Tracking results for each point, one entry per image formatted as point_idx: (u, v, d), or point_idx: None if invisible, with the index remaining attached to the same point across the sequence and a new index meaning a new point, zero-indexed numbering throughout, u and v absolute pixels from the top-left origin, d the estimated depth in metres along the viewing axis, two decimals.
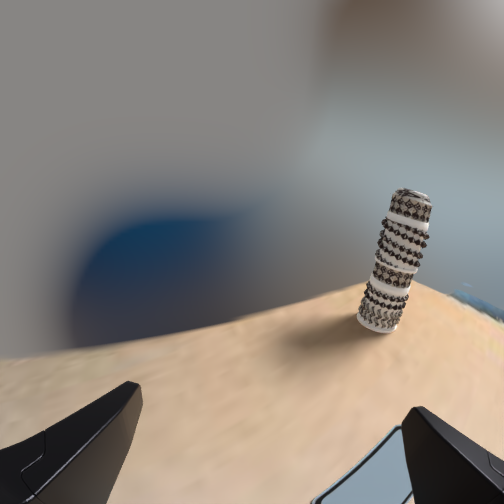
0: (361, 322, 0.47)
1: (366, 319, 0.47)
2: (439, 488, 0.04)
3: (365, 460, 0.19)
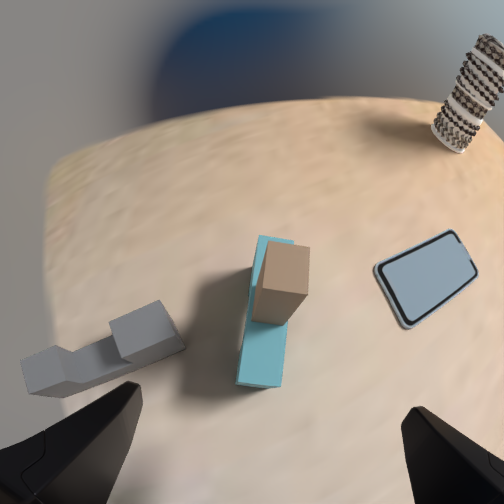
0: (434, 132, 0.41)
1: (439, 131, 0.40)
2: (439, 488, 0.04)
3: (421, 245, 0.27)
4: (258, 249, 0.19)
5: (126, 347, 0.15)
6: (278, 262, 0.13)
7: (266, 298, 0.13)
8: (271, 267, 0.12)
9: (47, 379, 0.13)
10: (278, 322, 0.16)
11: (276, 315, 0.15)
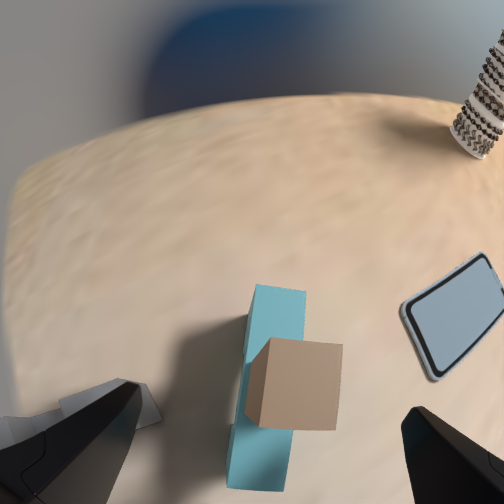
0: (454, 136, 0.34)
1: (460, 135, 0.33)
2: (439, 488, 0.04)
3: (453, 275, 0.21)
4: (255, 306, 0.13)
5: None
6: (288, 379, 0.07)
7: None
8: (276, 389, 0.06)
9: None
10: None
11: None
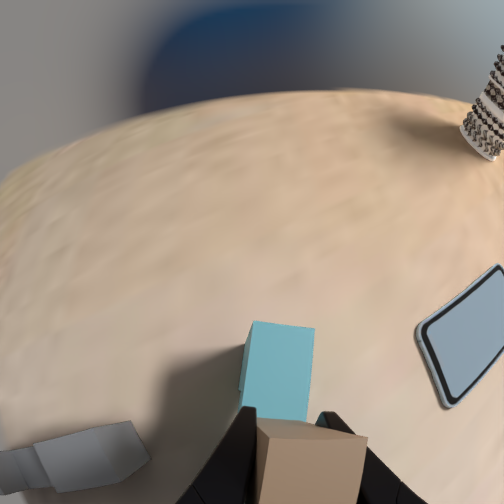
0: (465, 136, 0.32)
1: (470, 135, 0.31)
2: None
3: (470, 290, 0.18)
4: (252, 349, 0.10)
5: (60, 482, 0.06)
6: (292, 487, 0.04)
7: None
8: (276, 499, 0.04)
9: None
10: None
11: None
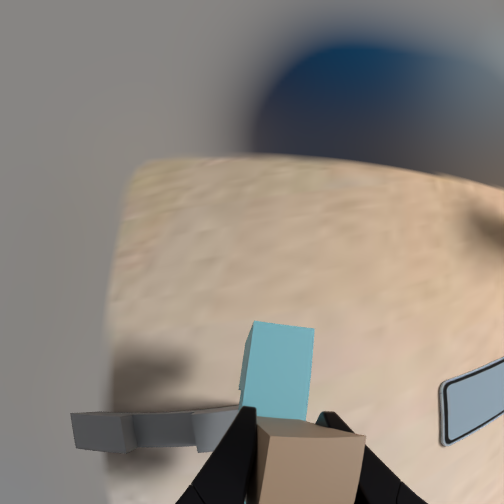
0: None
1: None
2: None
3: (484, 369, 0.20)
4: (252, 349, 0.10)
5: (206, 444, 0.13)
6: (292, 484, 0.04)
7: None
8: (276, 496, 0.04)
9: (103, 444, 0.12)
10: None
11: None
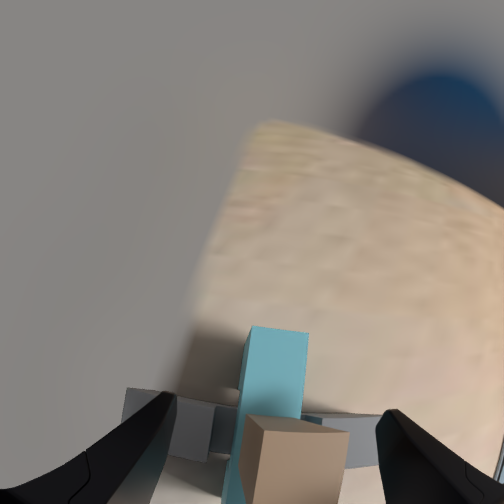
0: None
1: None
2: (411, 497, 0.04)
3: None
4: (250, 352, 0.11)
5: None
6: (284, 474, 0.05)
7: None
8: (270, 484, 0.04)
9: None
10: None
11: None
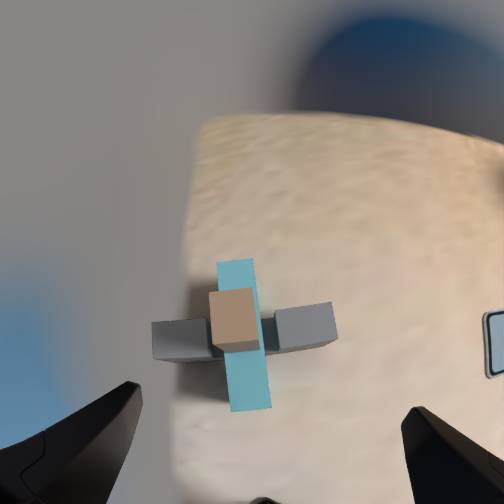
0: None
1: None
2: (439, 488, 0.04)
3: None
4: (219, 278, 0.19)
5: (288, 339, 0.17)
6: (223, 313, 0.12)
7: (224, 346, 0.13)
8: (217, 320, 0.12)
9: (184, 350, 0.17)
10: (253, 350, 0.16)
11: (246, 348, 0.15)
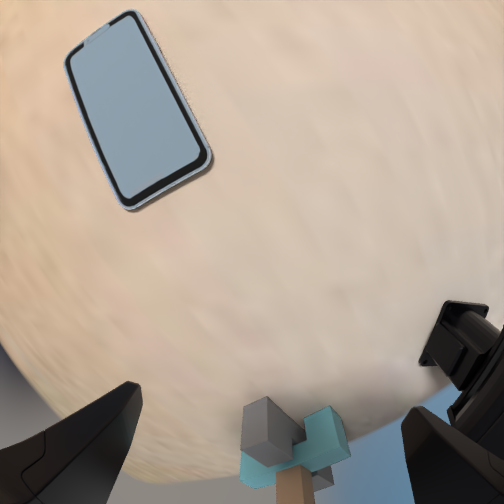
0: None
1: None
2: (439, 488, 0.04)
3: (87, 121, 0.16)
4: (264, 486, 0.19)
5: (284, 458, 0.18)
6: None
7: None
8: None
9: (320, 481, 0.19)
10: (303, 470, 0.18)
11: (306, 483, 0.16)
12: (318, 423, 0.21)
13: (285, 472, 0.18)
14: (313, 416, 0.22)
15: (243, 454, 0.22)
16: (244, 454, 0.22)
